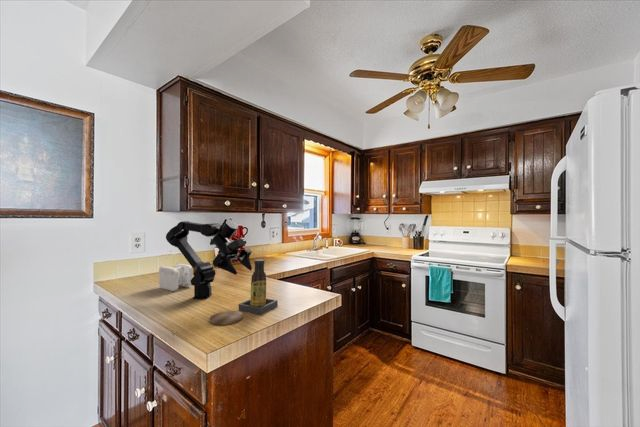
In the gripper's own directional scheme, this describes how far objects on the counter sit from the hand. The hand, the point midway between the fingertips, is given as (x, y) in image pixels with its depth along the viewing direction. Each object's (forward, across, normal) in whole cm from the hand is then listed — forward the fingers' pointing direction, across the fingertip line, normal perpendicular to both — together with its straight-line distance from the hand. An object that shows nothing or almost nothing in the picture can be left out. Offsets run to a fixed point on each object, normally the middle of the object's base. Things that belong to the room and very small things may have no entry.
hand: (244, 271), depth 117 cm
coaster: (+13, -14, +7) cm, 21 cm away
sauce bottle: (+16, -1, +5) cm, 16 cm away
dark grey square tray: (+16, -1, +5) cm, 16 cm away
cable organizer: (-26, +4, +44) cm, 52 cm away
